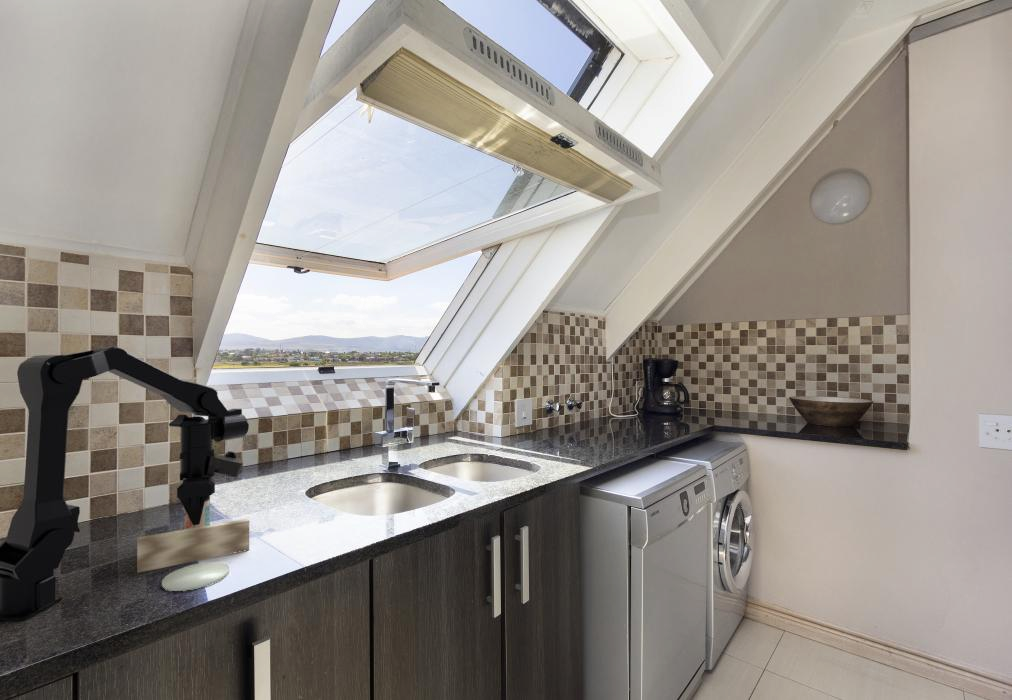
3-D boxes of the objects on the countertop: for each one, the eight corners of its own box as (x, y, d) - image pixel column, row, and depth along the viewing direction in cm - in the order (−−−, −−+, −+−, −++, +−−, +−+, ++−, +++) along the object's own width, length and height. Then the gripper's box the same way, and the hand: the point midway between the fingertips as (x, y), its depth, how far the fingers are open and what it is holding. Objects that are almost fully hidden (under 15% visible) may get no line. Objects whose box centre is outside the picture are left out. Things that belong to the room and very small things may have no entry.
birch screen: (137, 572, 86) (137, 539, 86) (138, 569, 87) (138, 537, 87) (249, 550, 96) (249, 520, 96) (248, 547, 97) (248, 518, 97)
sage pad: (147, 591, 79) (147, 588, 79) (187, 565, 89) (187, 562, 89) (206, 591, 79) (206, 588, 79) (240, 565, 89) (240, 561, 89)
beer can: (180, 543, 99) (180, 486, 99) (206, 537, 102) (206, 482, 102) (185, 550, 95) (185, 491, 96) (212, 543, 99) (212, 486, 99)
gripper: (243, 448, 96) (243, 525, 95) (237, 435, 111) (237, 501, 111) (177, 455, 90) (176, 537, 89) (180, 440, 105) (180, 510, 105)
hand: (196, 520), depth 99 cm, fingers open, 6 cm apart
